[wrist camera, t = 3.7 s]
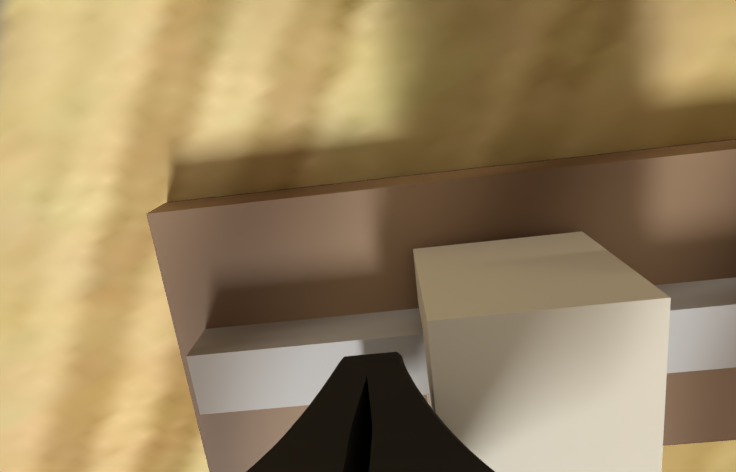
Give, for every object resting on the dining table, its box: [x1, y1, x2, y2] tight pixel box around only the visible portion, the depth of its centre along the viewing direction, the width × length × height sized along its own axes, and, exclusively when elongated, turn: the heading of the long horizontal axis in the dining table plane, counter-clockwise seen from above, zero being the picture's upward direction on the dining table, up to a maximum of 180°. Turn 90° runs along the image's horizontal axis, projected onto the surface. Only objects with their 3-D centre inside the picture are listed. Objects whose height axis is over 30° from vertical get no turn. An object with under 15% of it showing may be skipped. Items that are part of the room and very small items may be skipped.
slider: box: [413, 231, 671, 472], centre depth 11 cm, size 4×5×4 cm
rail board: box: [147, 139, 736, 472], centre depth 13 cm, size 18×8×4 cm, turn 97°
